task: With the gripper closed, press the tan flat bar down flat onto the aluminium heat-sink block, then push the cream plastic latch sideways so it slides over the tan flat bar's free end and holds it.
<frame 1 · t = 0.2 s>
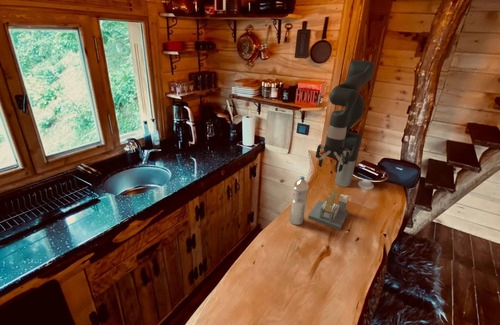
hand: (329, 168, 125), 29 cm above the counter, fingers open, 8 cm apart
tan flat bar: (331, 200, 136), point 10 cm above the counter, hinge at 30.0°
latch: (343, 198, 139), point 9 cm above the counter, slide at 0.0 cm
clip base: (328, 216, 140), on the counter
water bottle: (296, 221, 135), on the counter
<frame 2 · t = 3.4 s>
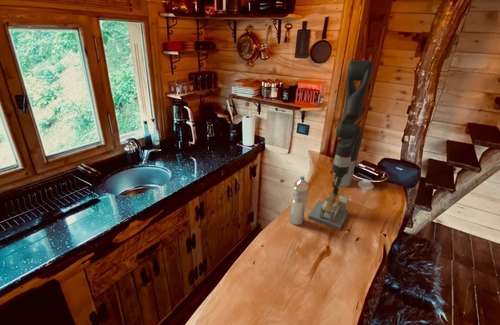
hand: (335, 193, 140), 11 cm above the counter, fingers closed
tan flat bar: (331, 202, 137), point 8 cm above the counter, hinge at 16.9°, touching gripper
everything else where it was.
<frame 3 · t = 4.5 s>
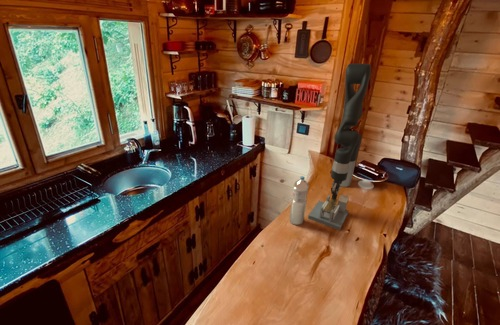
hand: (334, 199, 141), 8 cm above the counter, fingers closed
tan flat bar: (330, 205, 138), point 6 cm above the counter, hinge at -0.6°
everything else where it was.
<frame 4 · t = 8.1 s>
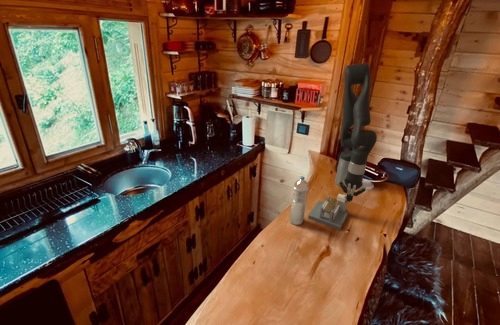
hand: (348, 200, 138), 9 cm above the counter, fingers closed
latch: (341, 197, 139), point 9 cm above the counter, slide at 1.0 cm, touching gripper
everything else where it was.
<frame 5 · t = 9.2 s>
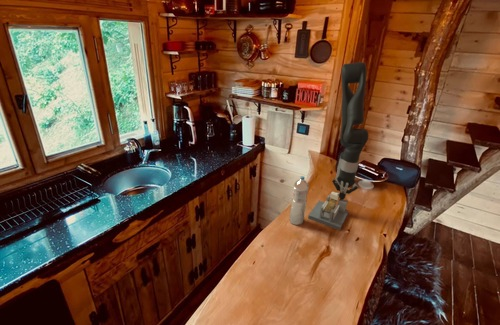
hand: (341, 198, 139), 9 cm above the counter, fingers closed
latch: (334, 195, 141), point 9 cm above the counter, slide at 4.5 cm, touching gripper
everything else where it was.
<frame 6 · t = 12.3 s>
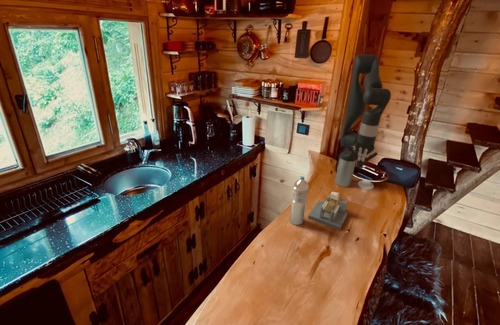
hand: (359, 167, 131), 27 cm above the counter, fingers closed
latch: (334, 195, 141), point 9 cm above the counter, slide at 4.5 cm
everything else where it was.
at the end: tan flat bar at -1° (first picture: +30°); latch slide at 4.5 cm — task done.
